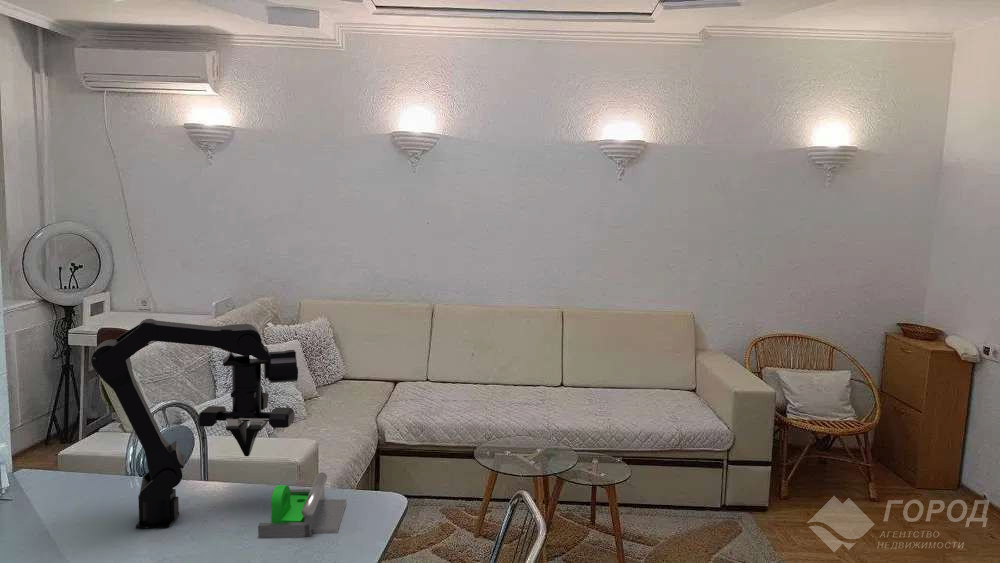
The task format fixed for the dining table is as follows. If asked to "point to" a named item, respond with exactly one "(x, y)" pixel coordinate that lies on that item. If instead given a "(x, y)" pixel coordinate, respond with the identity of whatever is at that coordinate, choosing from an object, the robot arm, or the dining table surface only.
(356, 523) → the dining table surface
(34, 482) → the dining table surface
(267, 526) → the bracket
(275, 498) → the mechanical part
